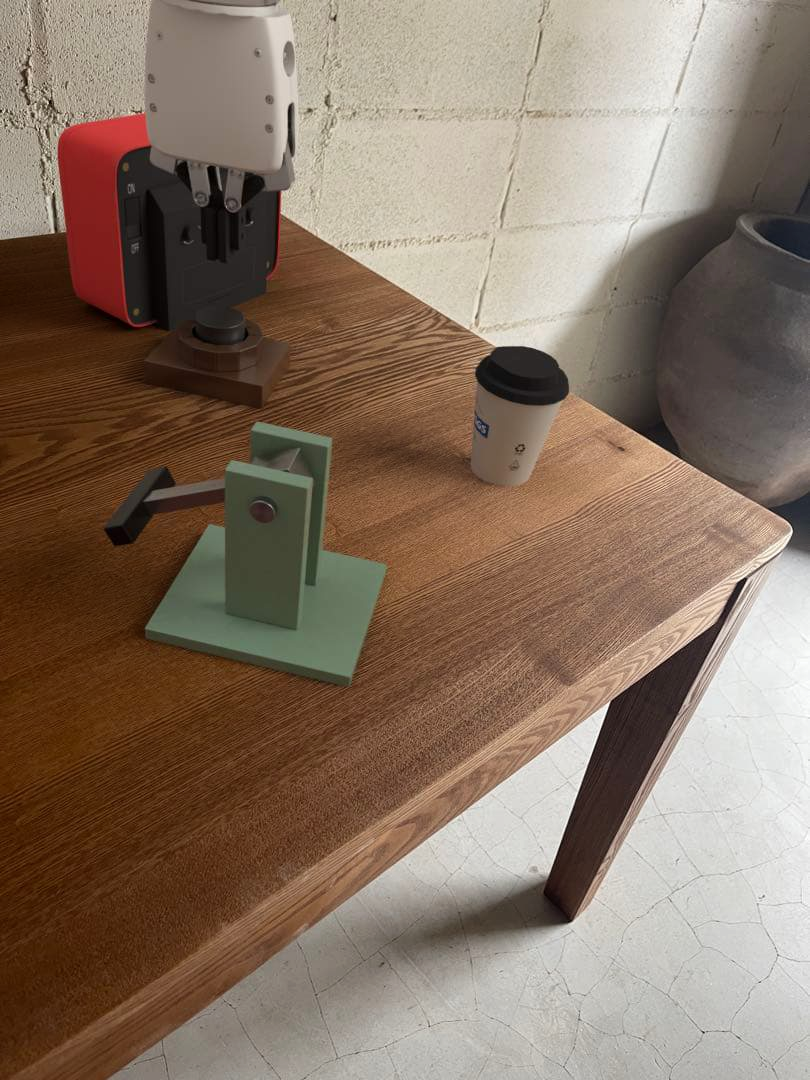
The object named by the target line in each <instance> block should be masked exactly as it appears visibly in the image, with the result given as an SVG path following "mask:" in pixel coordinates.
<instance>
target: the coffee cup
mask: <svg viewBox="0 0 810 1080" xmlns="http://www.w3.org/2000/svg"><path fill="white" fill-rule="evenodd" d="M474 376H475V379H476V390H475V391H476V392H475V402H474V403H475V404H474V415H473V416H474V417H473V429H472V441H471V453H470V454H471V455H470V468H471V470H472V472H473V473H474V475H475V476H476V477H477V478H479V479H480V480H482V481H483V482H485V483H488V484H491V485H493V486H499V487H504V488H507V487H510V488H511V487H512V488H513V487H517V486H521V485H524V483H526V482H527V481H528V480H529V479H530V477H531V475H532V473H533V470H534V468H535V466H536V464H537V461H538V460H539V456H540V454H541V452H542V449H543V447H544V445H545V443H546V441H547V438H548V437H549V436H548V435H549V434H550V431H551V430H552V429H551V428H552V426H553V424H554V422H555V419H556V417H557V416H558V413H559V411H560V408H561V406H562V404H563V401H564V400H565V399H566V398H567V397H568V396H569V394H570V383H569V382H570V381H569V378H568V376H567V374H566V373H565V371H564V370H563V369H562V368H561V367H560V365H559V362H558V360H557V359H555V358H554V357H553V356H552V355H550V354H548V353H547V352H545V351H543V350H540V349H538V348H534V347H529V346H524V345H504V346H502V345H501V346H496V347H495V348H494V349H493V350H492V351H491V352H490V354H489V355H486V356H485V357H483V359H482V360H481V361H480V362H479V363H478V365H477V366H476V367H475V371H474Z"/></svg>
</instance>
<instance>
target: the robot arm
mask: <svg viewBox="0 0 810 1080" xmlns="http://www.w3.org/2000/svg"><path fill="white" fill-rule="evenodd" d="M279 2H281V0H151V1H150V7H149V15H148V23H147V24H148V25H147V32H146V43H145V59H144V60H145V61H144V110H145V112H144V113H146V127H147V134H148V139H149V142H150V144H151V152H150V161H151V163H152V164H153V165H154V166H156V167H158V168H160V169H163V170H165V171H167V172H169V173H172V174H176V175H178V177H179V178H180V179H181V180H182V182H183V183H184V184H185V185H186V186H187V188H188V189H189V190H190V191H191V193H192V194H193V198H194V201H195V203H196V204H197V205H198V206H200V211H201V240H202V243H203V244H206V251H207V260H211V261H215V260H220V262H221V263H226V264H228V263H229V262H230V261H231V260H232V259H233V258H234V257H235V256H236V255H237V254H238V253H239V251H241V250H242V249H243V248H244V246H245V240H246V203H248V202H249V201H250V200H251V199H252V198H253V197H254V196H256V195H257V194H258V193H259V192H265V191H266V192H272V191H281V192H285V191H288V190H289V189H290V188H291V187H292V186H293V185H294V184H295V183H296V175H295V170H294V165H293V159H292V158H294V157H295V156H296V154H297V153H298V147H299V139H300V138H299V136H300V135H299V134H300V133H299V132H300V126H299V125H300V116H299V114H300V113H299V112H300V111H299V85H298V68H297V56H296V44H295V36H294V29H293V22H292V16H291V15H292V14H291V11H290V10H288V9H285V8H281V7H279ZM219 167H222V168H227V169H228V176H227V184H226V192H225V197H224V196H223V192H222V186H221V180H220V173H219Z"/></svg>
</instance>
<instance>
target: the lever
mask: <svg viewBox="0 0 810 1080" xmlns="http://www.w3.org/2000/svg"><path fill="white" fill-rule="evenodd" d="M249 464H252V465H257V466H261V467H266V468H270V469H275V470H279V471H284V472H288V473H293V474H297V475H301V476H306V477H310V478H313V476H312V474H311V472H310V470H309V467H308V465H307V463H306V460H305V458H304V456H303V454H302V451H301V449H300V448H294V449H289V450H284V451H279V452H273V453H268V454H263V455H258V456H255V457H254V459H253V460H252V462H251V463H250V462H249ZM176 484H177V482H176V481H175V479H174V477H173V475H172V474H171V471H170V470H169V468H168V466H166V465H165V466H159V467H154V468H149V469H148V470H147V471H146V472H145V474H143V476H142V477H141V479H139V481H138V483H137V484H136V485H135V486H134V488H133V489H132V490H131V491H130V493H129V494H128V495H127V497H126V498H125V500H124V501H123V502H122V503H121V504H120V506H119V507H118V509H116V511H115V512H114V513H113V515H112V516H111V517H110V518H109V520H108V522H107V523H106V524H105V525H104V526H103V531H104V532H105V534H106V535H107V537H108V538H109V540H110V542H111V543H112V545H113V547H120V546H126V545H132V544H133V545H134V543H135V542H136V540H137V539H138V538H139V536H140V535H141V534H142V532H143V531H144V529H145V528H146V526H147V525H148V524H149V523H150V521H151V520H152V518H153V517H154V516H155V515H160V514H167V513H172V512H179V511H184V510H189V509H195V508H196V509H197V508H201V507H207V506H213V505H218V504H225V477H221V478H215V479H210V480H204V481H199V482H194V483H187V484H182V485H176ZM314 485H315V481H314V479H313V484H312V489H313V487H314Z"/></svg>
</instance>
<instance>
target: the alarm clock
mask: <svg viewBox="0 0 810 1080" xmlns="http://www.w3.org/2000/svg"><path fill="white" fill-rule="evenodd" d="M56 150H57V166H58V175H59V185H60V191H61V199H62V200H61V202H62V207H63V217H64V224H65V226H64V227H65V232H66V233H65V234H66V243H67V250H68V258H69V267H70V268H69V269H70V274H71V281H72V287H73V290H74V292H75V295H76V296H77V297H78V299H80V300H82V301H83V302H85V303H87V304H89V305H91V306H93V307H95V308H97V309H99V310H101V311H102V312H105V313H107V314H109V315H111V316H113V317H114V318H115V319H116V318H117V319H118V320H120V321H122V322H124V323H126V324H128V325H130V326H132V327H135V328H142V327H146V326H150V325H153V324H154V325H156V326H158V327H160V328H162V329H163V330H165V331H168V332H171V331H172V330H173V329H174V328H175V327H176V326H177V325H178V324H179V323H180V322H181V321H182V320H183V321H184V320H185V319H187V318H191V317H194V316H195V315H196V313H197V312H198V311H199V310H201V309H203V308H206V307H212V306H223V307H229V308H233V307H235V306H237V305H240V304H244V303H246V302H248V301H250V300H253V299H255V298H258V297H261V296H264V295H265V294H267V280H269V279H270V278H271V277H273V275H274V274H275V272H276V270H277V268H278V263H279V258H280V242H281V241H280V239H281V237H280V236H281V217H282V216H281V214H282V213H281V212H282V191H272V192H266V191H265V192H259V193H258V194H257V195H256V196H254V197H253V198H252V199H251V200H250V201H249V202H248V203H246V240H245V246H244V248H243V249H242V250H241V251H239V253H238V254H237V255H236V256H235V257H234V258H233V259H232V260H231V261H230V262H229V263H228V264H226V263H221V262H220V260H215V261H211V260H207V251H206V244H203V243H202V240H201V211H200V206H198V205H197V204H196V203H195V201H194V198H193V194H192V193H191V191H190V190H189V189H188V188H187V186H186V185H185V184H184V183H183V182H182V180H181V179H180V178H179V177H178V175H176V174H172V173H169V172H167V171H165V170H163V169H160V168H158V167H156V166H154V165H153V164H152V163H151V161H150V152H151V144H150V142H149V139H148V134H147V127H146V113H145V112H143V113H136V114H130V115H123V116H118V117H112V118H105V119H100V120H99V119H98V120H94V121H87V122H81V123H77V124H74V125H71V126H69V127H67V128H66V129H64V130H63V131H62V132H61V133H60V135H59V137H58V141H57V149H56ZM219 173H220V180H221V186H222V192H223V196H224V197H225V192H226V184H227V176H228V169H227V168H222V167H219Z"/></svg>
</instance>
